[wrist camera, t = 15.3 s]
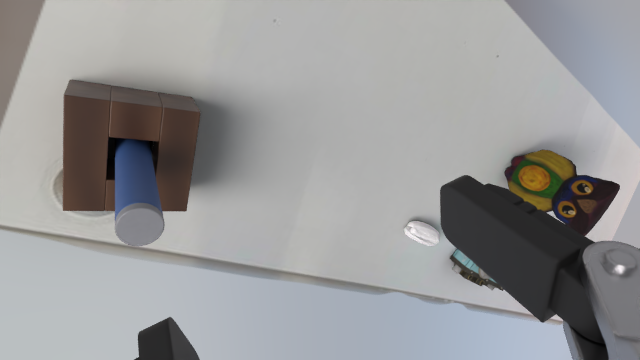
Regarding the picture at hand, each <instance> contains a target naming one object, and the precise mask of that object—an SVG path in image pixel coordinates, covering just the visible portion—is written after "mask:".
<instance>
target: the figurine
mask: <svg viewBox="0 0 640 360" xmlns="http://www.w3.org/2000/svg"><path fill="white" fill-rule="evenodd" d="M511 164H512V167H509V168H507V170H506V171H505V176H506V178H507V181H508V186H509V189H510V191H511V192H513V193H515V194H516V195H518V196H520V197H521V198H523V199H524V201H525V202H526V201H528V202H529V203H531V204H533V205H534V206H536V207H537V209H538V210H539V209H541V210H542V211H544V212H546V213H547V212H549V211H553V212H554V214H555V215H556V217H557V218H558V219H559V220H561V221H562V222H563V223H565V224H566V225H567V226H568V227H570V228H572V229H573V230H575V231H577V232H578V233H580V234H582V235H583V236H585V235H587V234H588V233H589V231H590V230H591V229H592V228H593V227H594V226H595V224H596V223H597V222H598V221H599V220H600V218H601V217H602V216H603V214H604V213H605V211H606V210H607V209H608V207H609V206H610V204H611V203H612V201H613V200H614V198H615V196H616V195H617V193H618V191H619V189H620V185H619V184H617V183H614V182H612V181H606V180H602V179H599V178H593V177H590V176H587V175H578V176H577V174H576V166H575V165H574V164H573V162H572V161H571V160H569V159H567V158H565V157H563V156H560V155H558V154H556V153H554V152H552V151H548V150H540V151H537V152H532V153H529V154H526V155H523V156H519V157H514V158H513V160H512V162H511Z"/></svg>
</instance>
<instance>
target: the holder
mask: <svg viewBox="0 0 640 360" xmlns="http://www.w3.org/2000/svg"><path fill="white" fill-rule="evenodd" d="M199 120H200V111H199V109H198V107H197V105H196V104H195V102H194V100H193V98H192V97H186V96H179V95H172V94H165V93H157V92H152V91H145V90H138V89H131V88H124V87H117V86H110V85H104V84H97V83H90V82H83V81H76V80H70V81H69V83H68V86H67V88H66V91H65V93H64V124H63V211H104V210H105V211H115V158H107V156H108V138H109V137H114V138H125V139H136V140H148V141H153V148H152V160H153V166H154V171H155V176H156V181H157V187H158V192H159V197H160V203H161V208H162V211H186V210H187V203H188V196H189V190H190V183H191V176H192V169H193V162H194V155H195V148H196V141H197V134H198V127H199Z"/></svg>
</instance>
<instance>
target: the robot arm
mask: <svg viewBox="0 0 640 360" xmlns="http://www.w3.org/2000/svg"><path fill="white" fill-rule="evenodd" d="M440 206H441V227H442V230H443V232H444V234H445V236H446V238H447V239H448V240H449V241H450V242H451V243H452V244H453V245H454V246H455V247H456V248H457V249H459V250H460V251H461V252H462V253H463V254H464V255H465V256H467V257H468V258H469V259H470V260H471V261H472V262H473V263H475V264H476V265H477V266H478V267H479V268H480V269H481V270H483V271H484V272H485V273H486V274H487V275H488V276H489V277H491V278H492V279H493V280H494V281H495V282H496V283H497V284H499V285H500V286H501V287H502V288H503V289H504V290H505V291H507V292H508V293H509V294H510V295H511V296H512V297H513V298H515V299H516V300H517V301H518V302H519V303H520V304H521V305H523V306H524V307H525V308H526V309H527V310H528V311H530V312H531V313H532V314H533V315H534V316H535V317H536V318H538V319H539V320H540V321H541V322H545V321H546V320H548V319H549V318H551V317H553V316H554V315H556V314H557V315H558V316H559V317H560V318H562V319H563V320H564V321H563V328H564V332H565V335H566V339H567V342H568V345H569V348H570V352H571V355H572V359H573V360H640V249H638V248H636V247H634V246H631V245H628V244H625V243H621V242H616V241H600V242H593V241H592V240H590V239H588V238H586V237H585V236H583V235H582V234H580V233H578V232H577V231H575V230H573V229H572V228H570V227H568V226H567V225H565V224H564V223H562V222H560V221H559V220H557V219H555V218H554V217H552V216H551V215H549V214H547V213H546V212H544V211H542V210H541V209H539V210H538V209H537V207H536V206H534V205H533V204H531V203H529V202H528V201H526V202H525V201H524V199H523V198H521V197H520V196H518V195H516V194H515V193H513V192H511V191H510V190H508V189H505V188H502V187H499V186H495V185H492V184H486V185H483V184H482V183H480V182H478V181H477V180H475V179H474V178H472V177H470V176H468V175H464V176H461V177H459V178H457V179H455V180H453V181H451V182H449V183H447V184H445V185H443V186H442V187H441V190H440ZM138 347H139V357H138V358H136V359H135V360H200V359H199V357H198V355H197V353H196V351H195V349H194V348H193V346H192V345H191V344H190V342H189V341H188V339H187V338H186V336H185V335H184V334H183V332H182V331H181V330H180V328H179V327H178V325H177V324H176V322H175V321H174V320H173V319H172V318H171V317H169V318H167V319H165V320H163V321H161V322H159V323H157V324H155V325H152V326H150V327H148V328H146V329H144V330H143V331H140V332H139V334H138Z"/></svg>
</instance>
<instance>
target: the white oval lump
mask: <svg viewBox="0 0 640 360" xmlns="http://www.w3.org/2000/svg"><path fill="white" fill-rule="evenodd" d="M407 226H408V227H405V228H404V233H405V234H406V235H407V236H409V237H410V238H411V239H413V240H415V241H417V242H419V243H422V244H425V245H429V246H434V245H435V244H437V243H438V242H439V238H440V235H439V233H438V231H437V230H436V229H434V228H433V227H432V226H430V225H428V224H426V223H424V222H420V221H411V222H409V223H408V225H407Z"/></svg>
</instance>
